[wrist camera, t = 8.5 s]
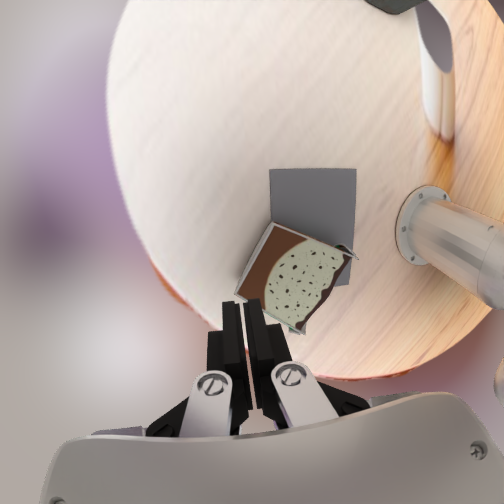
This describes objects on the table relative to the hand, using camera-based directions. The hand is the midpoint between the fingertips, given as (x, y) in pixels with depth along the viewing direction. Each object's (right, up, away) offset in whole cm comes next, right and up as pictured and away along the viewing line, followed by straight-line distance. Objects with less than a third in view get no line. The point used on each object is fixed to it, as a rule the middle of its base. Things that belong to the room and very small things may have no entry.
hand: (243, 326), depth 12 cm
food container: (+1, +4, +20) cm, 20 cm away
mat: (+8, +6, +22) cm, 24 cm away
